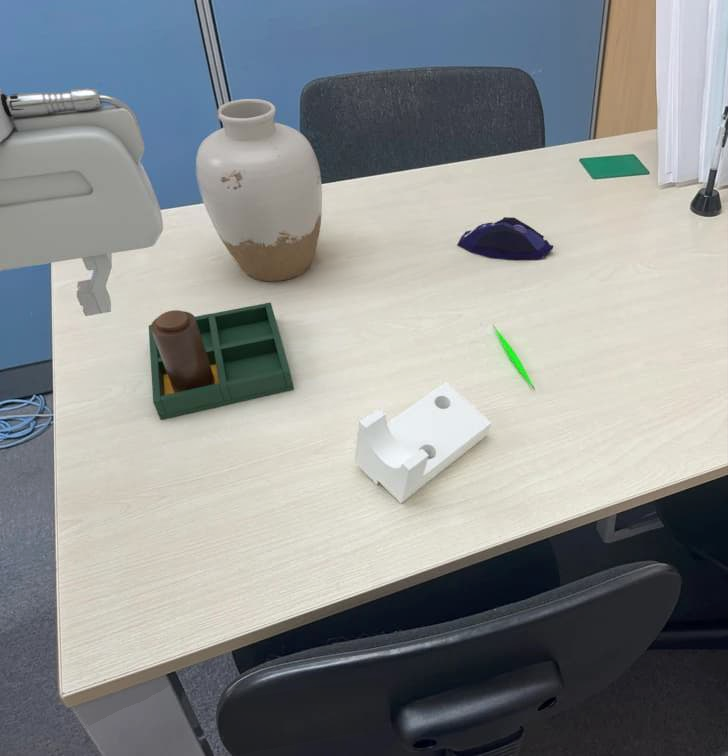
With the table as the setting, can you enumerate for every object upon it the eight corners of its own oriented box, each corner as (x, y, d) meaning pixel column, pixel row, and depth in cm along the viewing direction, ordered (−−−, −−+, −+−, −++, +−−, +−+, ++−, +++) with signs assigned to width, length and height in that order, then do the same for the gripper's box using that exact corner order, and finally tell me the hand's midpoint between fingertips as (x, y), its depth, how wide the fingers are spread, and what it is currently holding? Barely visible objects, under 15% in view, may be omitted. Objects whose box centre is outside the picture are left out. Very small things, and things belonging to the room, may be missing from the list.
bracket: (399, 508, 73) (409, 470, 67) (354, 461, 75) (359, 421, 69) (484, 440, 80) (499, 401, 74) (441, 400, 82) (452, 359, 76)
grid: (160, 420, 80) (152, 401, 78) (154, 342, 90) (148, 325, 88) (294, 389, 84) (290, 371, 82) (274, 319, 94) (270, 302, 92)
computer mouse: (470, 222, 115) (470, 200, 113) (559, 238, 113) (562, 215, 110) (452, 251, 109) (451, 227, 106) (546, 268, 106) (548, 244, 103)
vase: (212, 249, 107) (170, 95, 92) (315, 228, 112) (292, 80, 97) (234, 305, 96) (190, 142, 81) (347, 278, 102) (326, 121, 87)
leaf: (531, 393, 85) (531, 388, 84) (489, 326, 94) (489, 322, 94) (538, 391, 85) (538, 386, 84) (495, 325, 95) (495, 320, 94)
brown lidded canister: (174, 402, 81) (149, 335, 74) (172, 377, 84) (148, 311, 77) (216, 392, 82) (195, 326, 76) (213, 368, 85) (192, 303, 79)
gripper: (125, 66, 41) (187, 269, 50) (-326, 104, 35) (-162, 328, 44) (127, 105, 37) (194, 319, 46) (-387, 156, 31) (-192, 392, 40)
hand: (17, 324), depth 45 cm, fingers open, 8 cm apart
